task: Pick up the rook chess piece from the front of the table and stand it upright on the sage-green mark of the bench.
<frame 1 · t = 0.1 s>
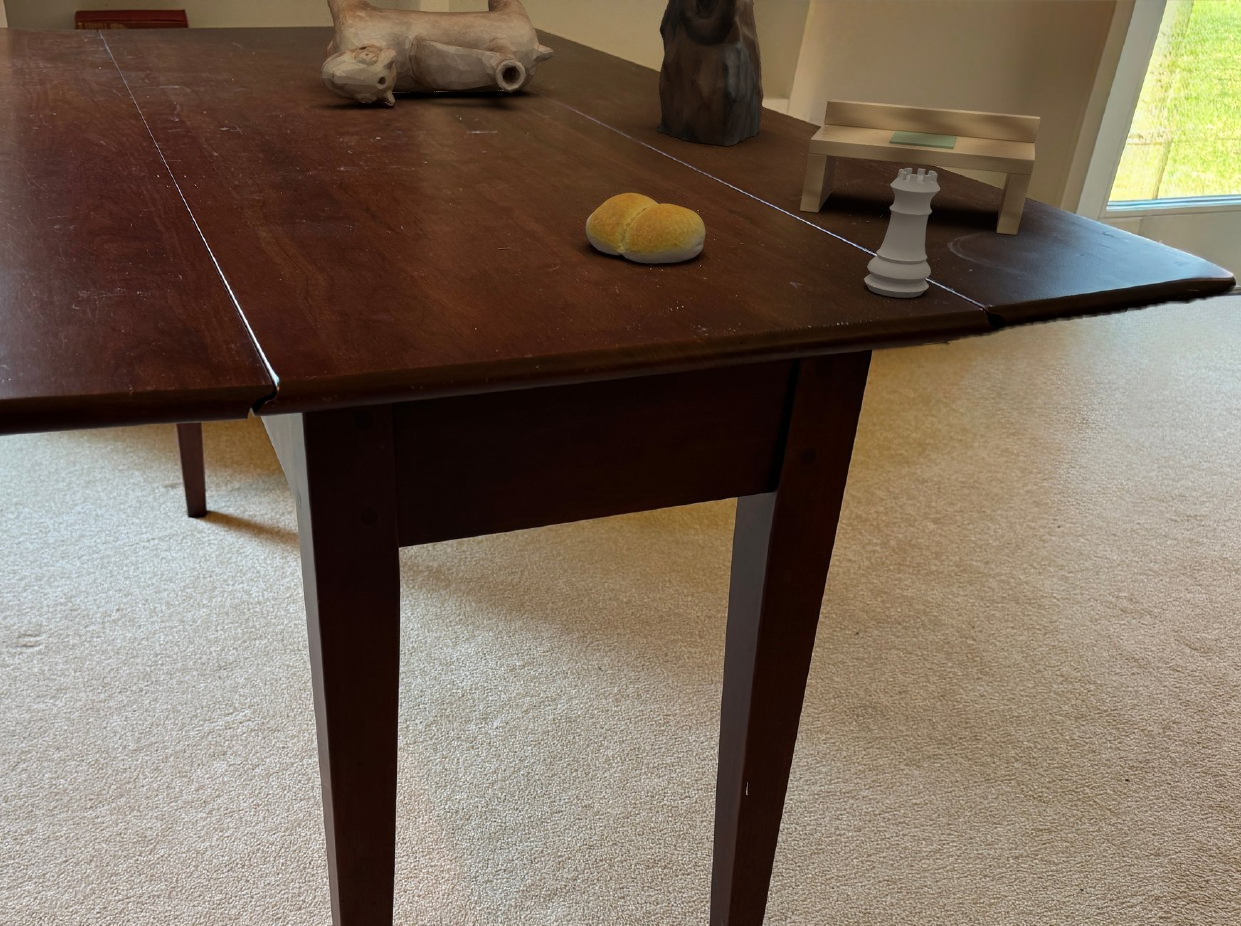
ceramic vessel: (436, 97, 149), on the table
rook chess piece: (894, 292, 81), on the table
bench: (909, 211, 101), on the table
owl: (713, 136, 131), on the table
bread roll: (643, 252, 88), on the table
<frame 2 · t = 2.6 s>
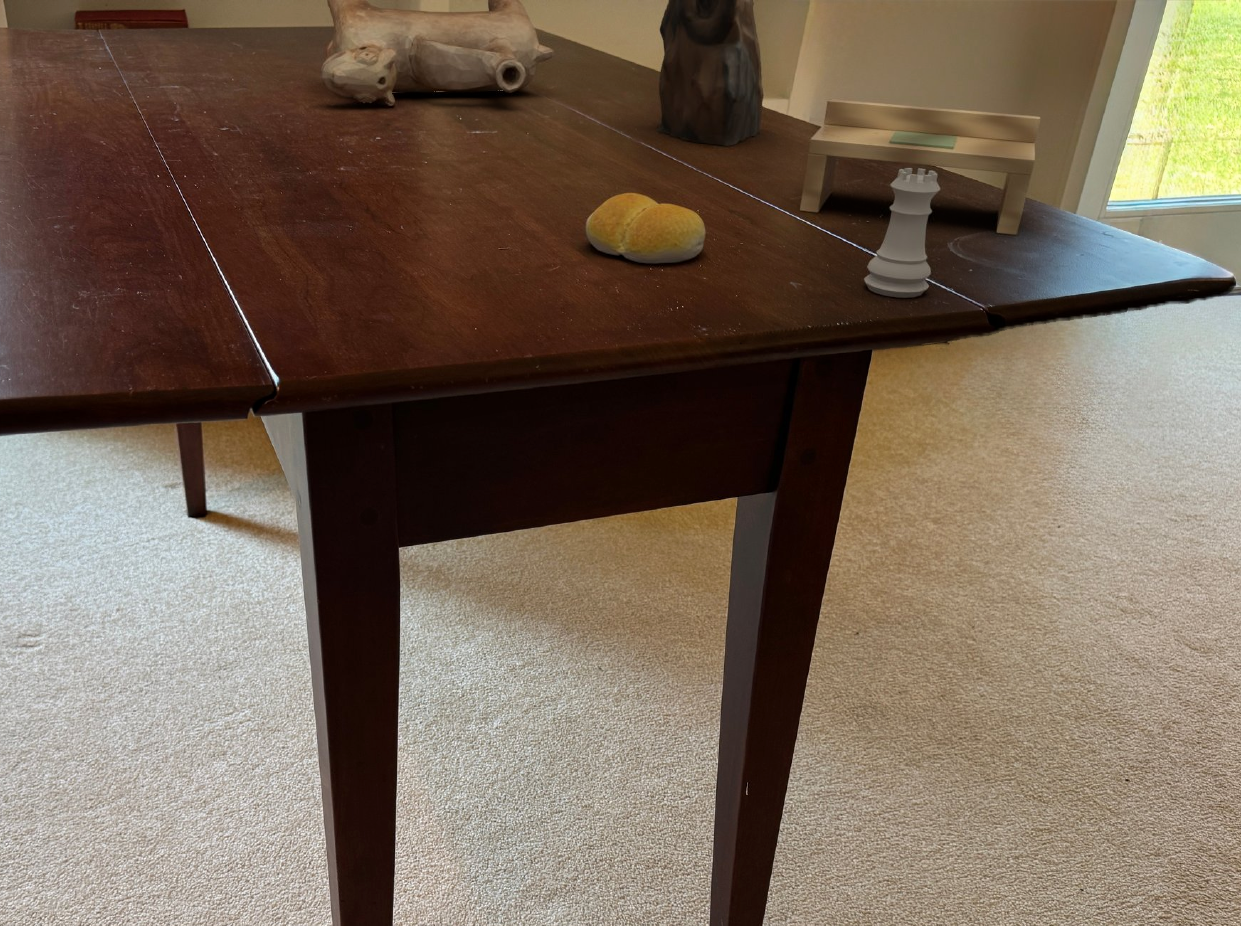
nothing on the table moved.
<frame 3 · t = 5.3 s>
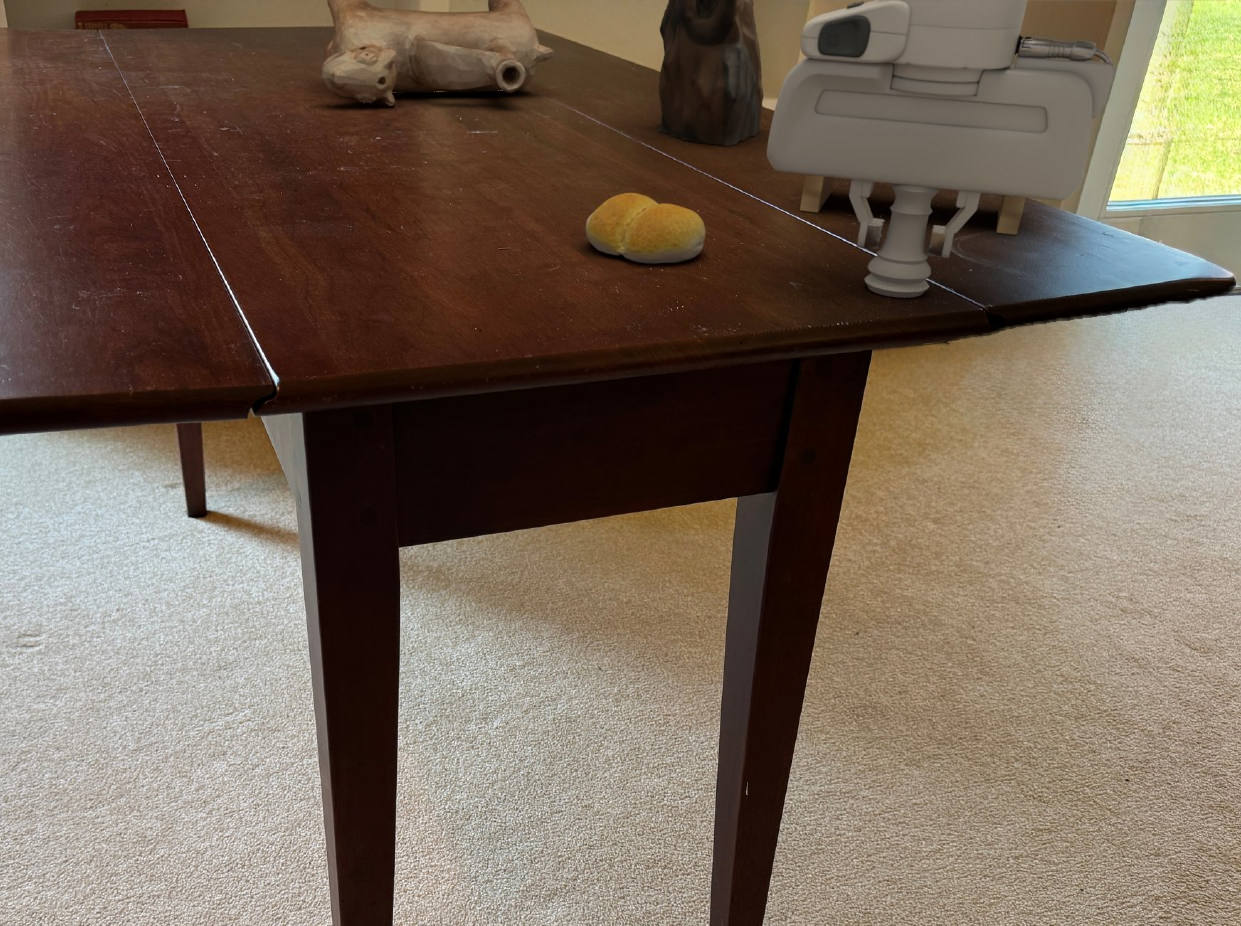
hand: (902, 251, 79), 3 cm above the table, tool pointing down, fingers closed on rook chess piece, 3 cm apart
rook chess piece: (894, 292, 81), on the table, touching gripper
everything else where it was.
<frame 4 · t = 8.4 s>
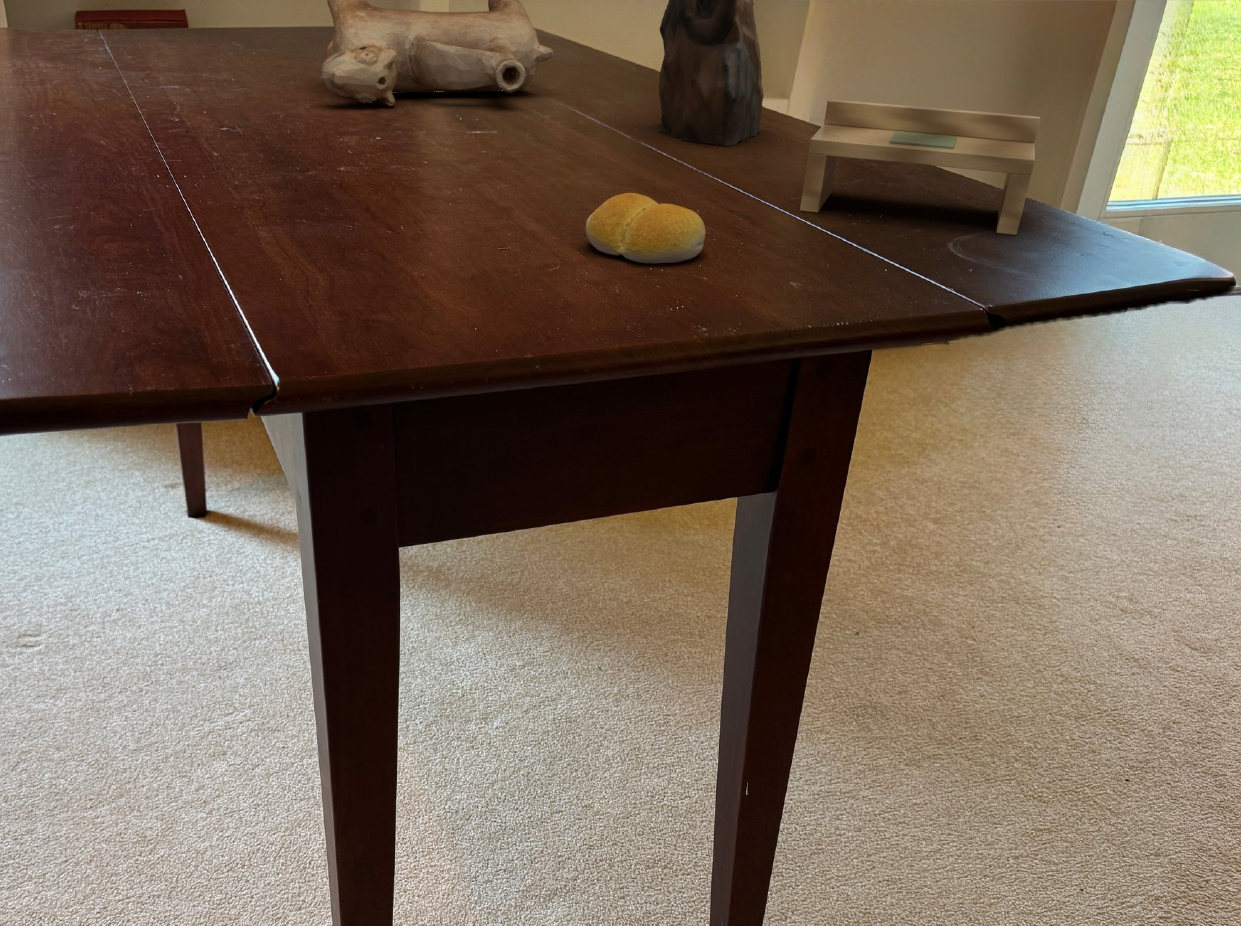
when the fingers open (9 cm above the table, at t = 12.0 s): rook chess piece stays where it is, resting on bench.
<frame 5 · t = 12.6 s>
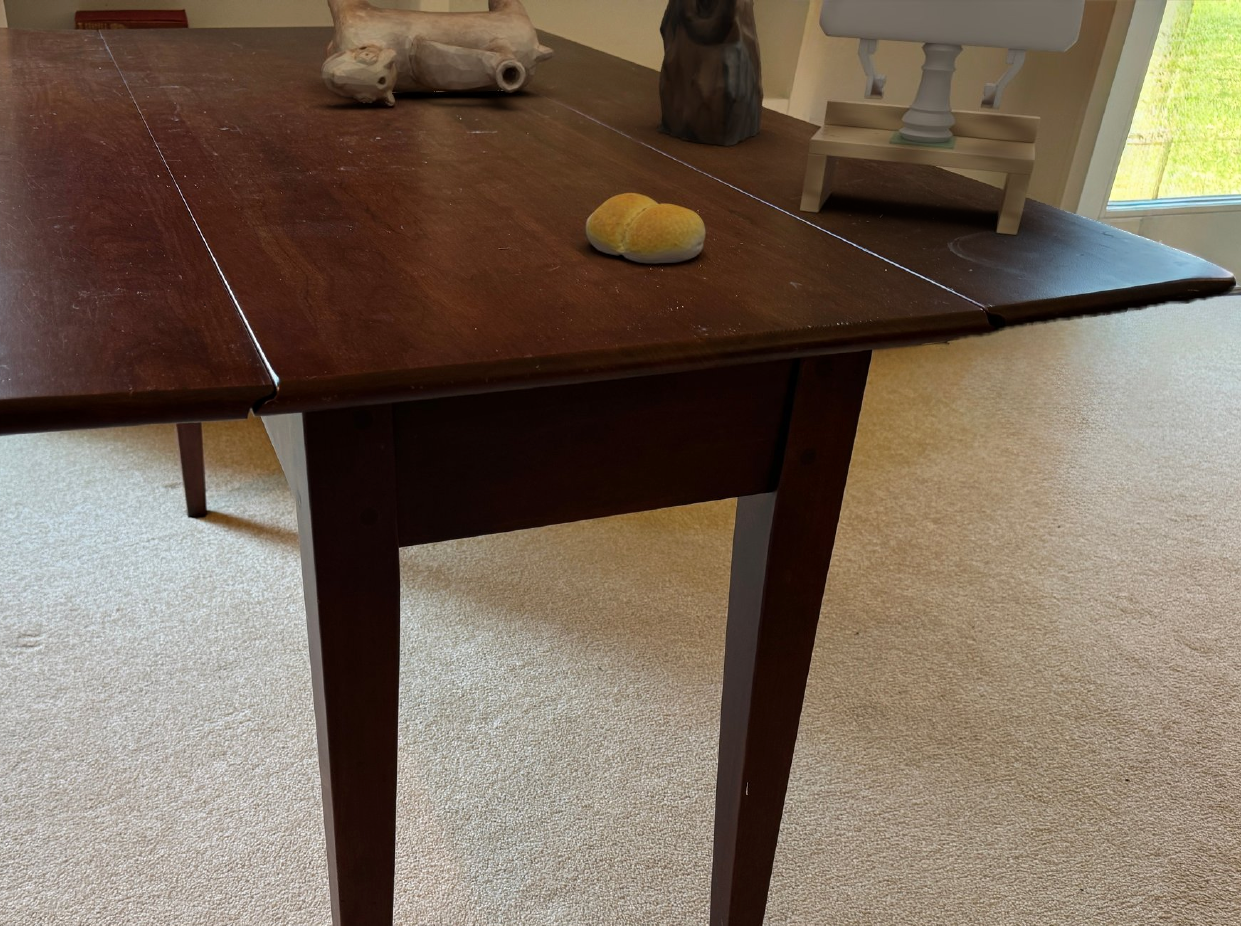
hand: (930, 103, 96), 9 cm above the table, tool pointing down, fingers open, 8 cm apart
rook chess piece: (924, 141, 97), point 6 cm above the table, touching bench
everything else where it was.
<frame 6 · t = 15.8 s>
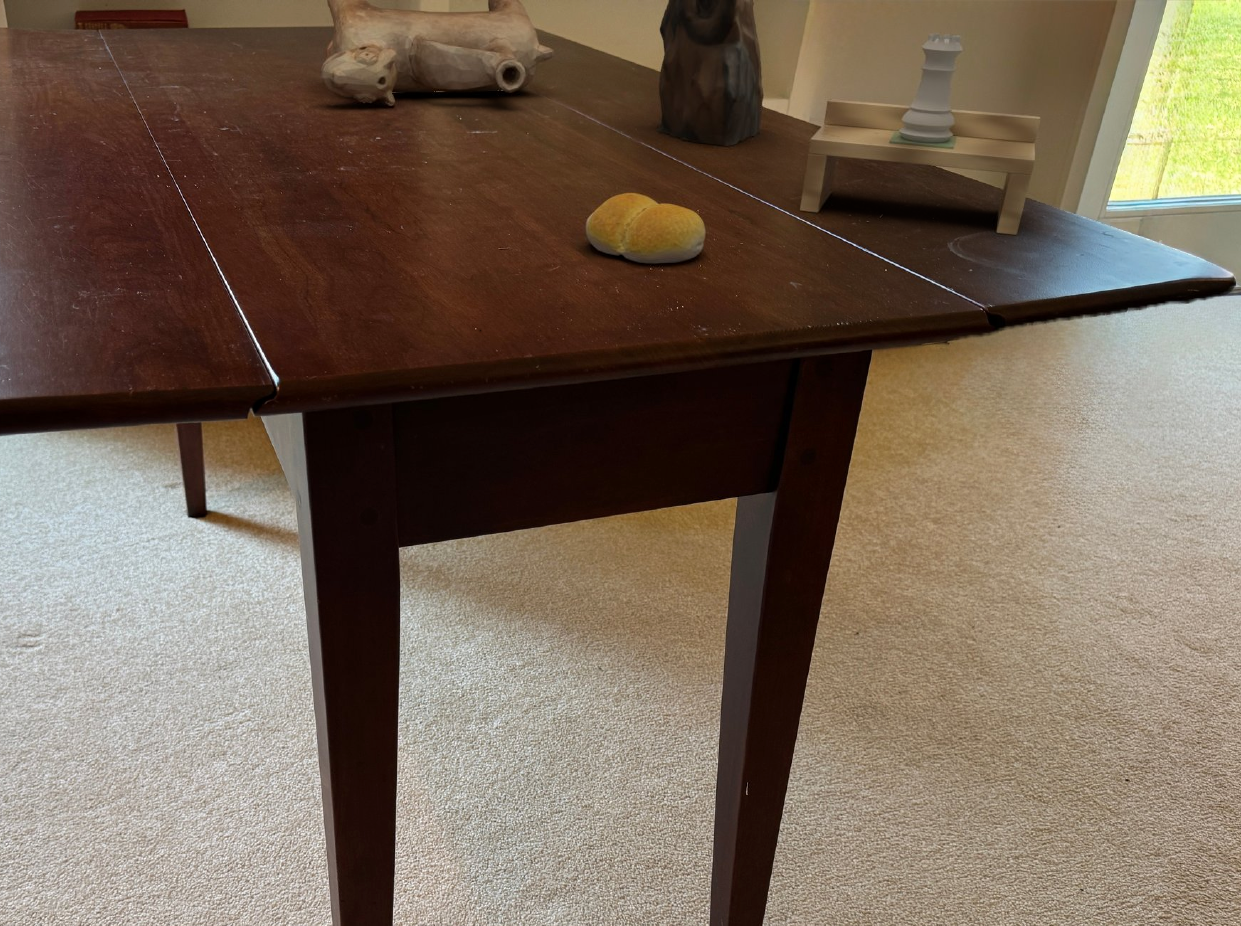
nothing on the table moved.
at the end: rook chess piece inside the target area on the bench (0.3 cm from its centre), point 6.0 cm above the bench's base; rook chess piece tilted 0°; the gripper is holding nothing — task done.
